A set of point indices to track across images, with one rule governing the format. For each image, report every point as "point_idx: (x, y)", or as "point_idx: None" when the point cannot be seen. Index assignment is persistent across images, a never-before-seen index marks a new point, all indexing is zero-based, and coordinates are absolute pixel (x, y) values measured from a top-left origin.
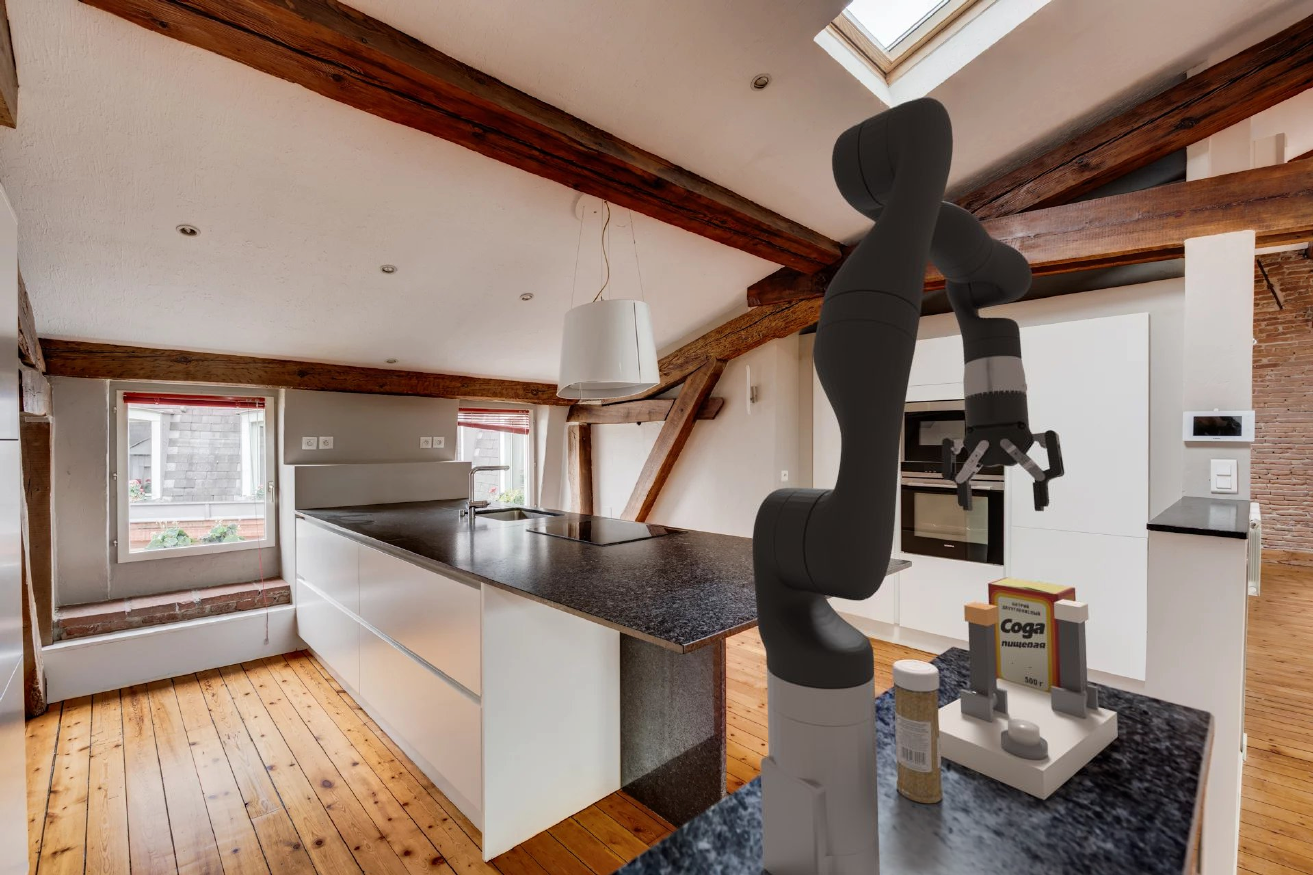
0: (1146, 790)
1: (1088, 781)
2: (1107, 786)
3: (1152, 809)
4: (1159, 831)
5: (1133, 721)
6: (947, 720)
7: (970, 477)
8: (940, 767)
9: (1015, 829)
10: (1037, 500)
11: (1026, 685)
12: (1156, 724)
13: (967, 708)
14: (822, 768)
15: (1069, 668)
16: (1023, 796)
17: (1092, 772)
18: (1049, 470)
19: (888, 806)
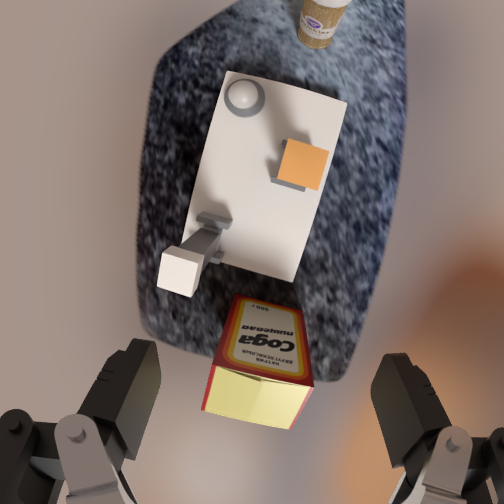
0: (166, 146)
1: (203, 131)
2: (190, 132)
3: (163, 118)
4: (161, 89)
5: None
6: (321, 122)
7: (402, 489)
8: (300, 26)
9: (244, 30)
10: (130, 359)
11: (267, 306)
12: (164, 292)
13: None
14: None
15: (205, 236)
16: (245, 73)
17: (201, 150)
18: (39, 450)
19: None
